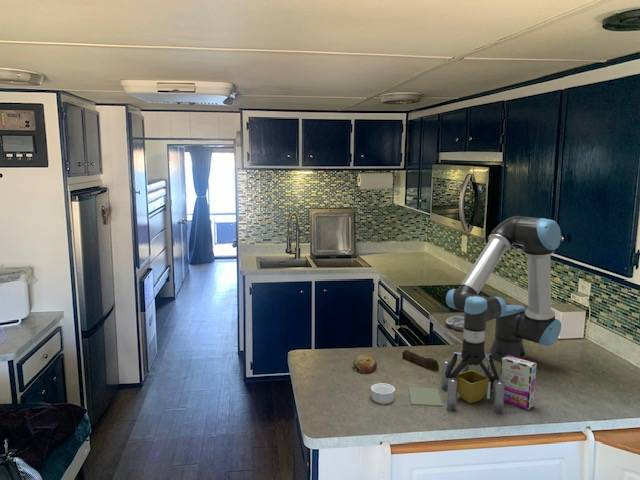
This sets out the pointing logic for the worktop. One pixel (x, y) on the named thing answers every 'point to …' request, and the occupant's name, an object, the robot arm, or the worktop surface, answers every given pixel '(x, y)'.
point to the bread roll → (364, 364)
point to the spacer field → (451, 386)
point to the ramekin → (382, 393)
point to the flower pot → (471, 386)
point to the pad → (424, 396)
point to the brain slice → (456, 322)
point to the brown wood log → (421, 360)
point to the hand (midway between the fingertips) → (470, 396)
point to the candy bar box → (518, 381)
